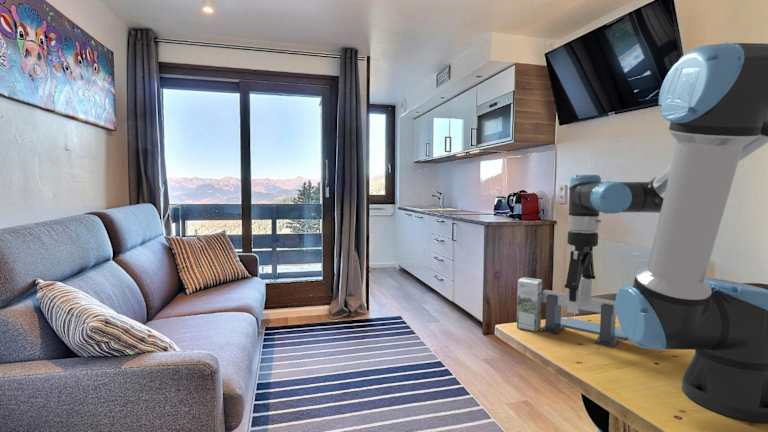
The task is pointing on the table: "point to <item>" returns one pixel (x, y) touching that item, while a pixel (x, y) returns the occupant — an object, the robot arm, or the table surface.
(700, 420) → the table surface
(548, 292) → the rail
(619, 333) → the mat
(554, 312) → the post far
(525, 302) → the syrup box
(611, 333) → the post near
